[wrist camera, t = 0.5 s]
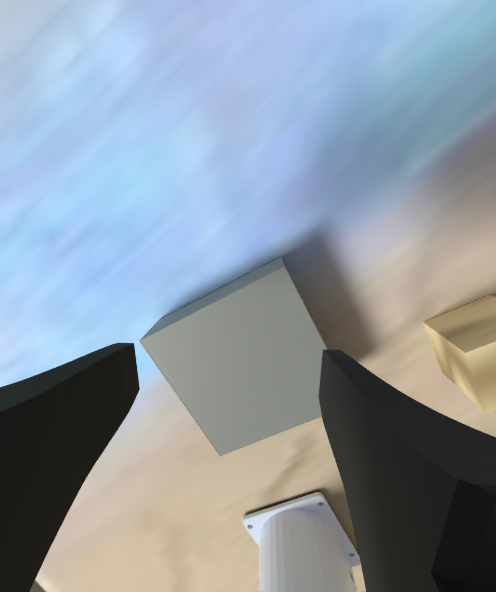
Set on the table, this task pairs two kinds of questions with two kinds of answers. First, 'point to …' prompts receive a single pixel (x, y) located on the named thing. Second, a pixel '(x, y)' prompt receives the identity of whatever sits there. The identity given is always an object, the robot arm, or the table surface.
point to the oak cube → (468, 349)
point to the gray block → (243, 358)
